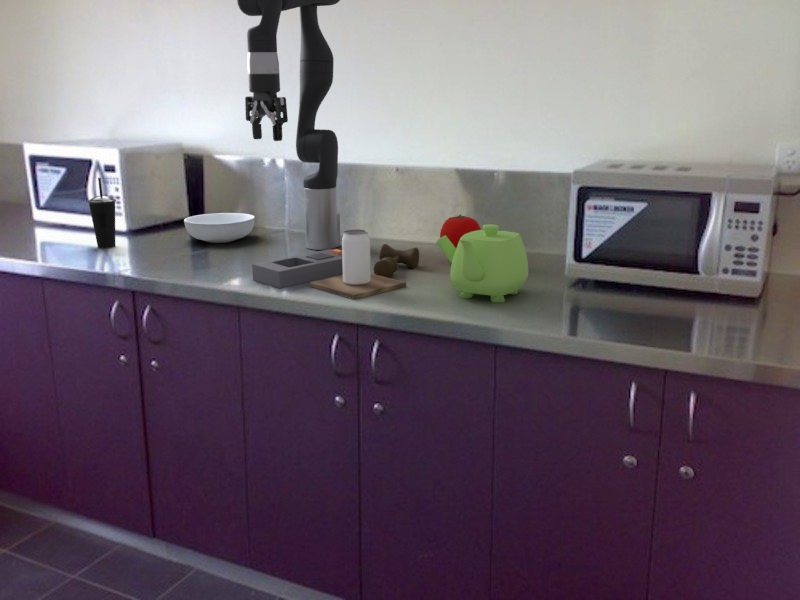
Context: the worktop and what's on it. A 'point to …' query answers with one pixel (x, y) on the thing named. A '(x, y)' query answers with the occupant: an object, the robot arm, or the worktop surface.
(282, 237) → the worktop surface
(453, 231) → the tomato
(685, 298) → the worktop surface
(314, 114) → the robot arm
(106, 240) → the drinking cup
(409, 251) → the kendama
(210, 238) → the serving bowl
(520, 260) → the teapot
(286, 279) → the grey block with hole
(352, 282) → the can
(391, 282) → the walnut board
